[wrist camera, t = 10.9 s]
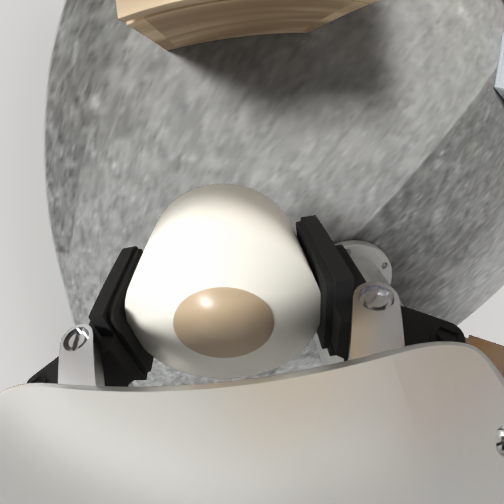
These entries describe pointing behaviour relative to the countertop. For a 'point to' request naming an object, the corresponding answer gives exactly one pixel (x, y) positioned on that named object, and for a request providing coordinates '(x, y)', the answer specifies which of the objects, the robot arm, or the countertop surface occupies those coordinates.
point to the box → (238, 19)
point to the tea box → (500, 71)
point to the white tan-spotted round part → (223, 286)
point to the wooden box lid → (158, 7)
